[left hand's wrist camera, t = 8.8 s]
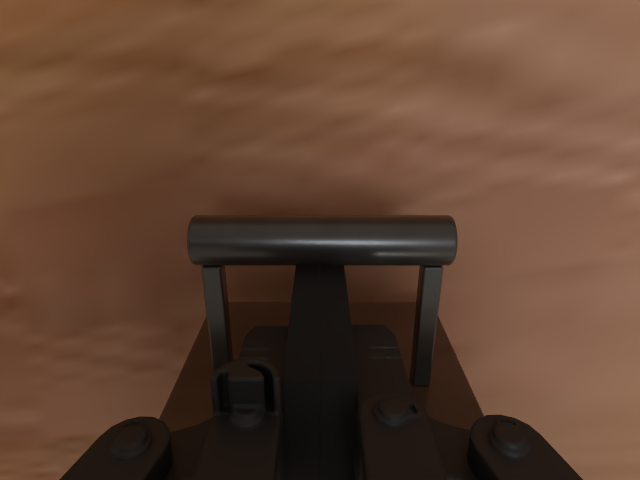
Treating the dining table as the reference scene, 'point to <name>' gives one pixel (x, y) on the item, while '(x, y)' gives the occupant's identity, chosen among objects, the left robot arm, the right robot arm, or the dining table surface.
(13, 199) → the dining table surface
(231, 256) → the drawer
